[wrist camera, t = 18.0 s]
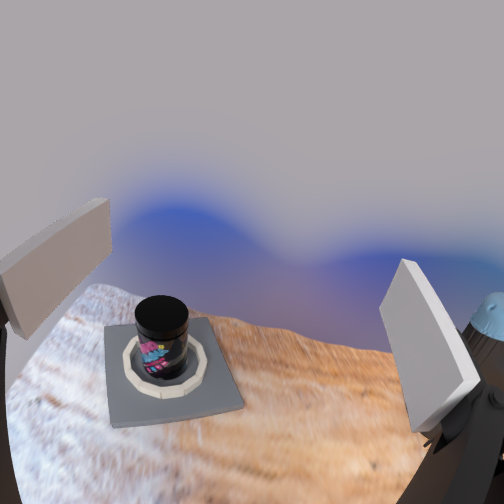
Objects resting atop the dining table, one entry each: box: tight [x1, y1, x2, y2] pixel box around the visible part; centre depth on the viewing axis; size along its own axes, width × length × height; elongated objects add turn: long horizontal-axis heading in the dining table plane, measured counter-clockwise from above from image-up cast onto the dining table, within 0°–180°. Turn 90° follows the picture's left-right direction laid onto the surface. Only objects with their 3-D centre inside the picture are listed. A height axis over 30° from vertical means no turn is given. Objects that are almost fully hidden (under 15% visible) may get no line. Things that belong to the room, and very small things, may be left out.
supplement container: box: [135, 295, 189, 380], centre depth 36 cm, size 7×7×10 cm
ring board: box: [104, 317, 244, 428], centre depth 38 cm, size 18×18×3 cm
